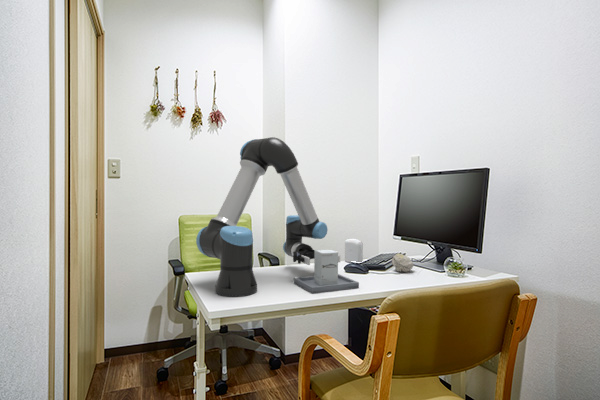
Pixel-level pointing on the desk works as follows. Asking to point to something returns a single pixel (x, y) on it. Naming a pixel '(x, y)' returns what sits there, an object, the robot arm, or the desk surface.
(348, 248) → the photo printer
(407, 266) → the fossil replica
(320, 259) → the supplement box
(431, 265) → the desk surface
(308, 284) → the tray
